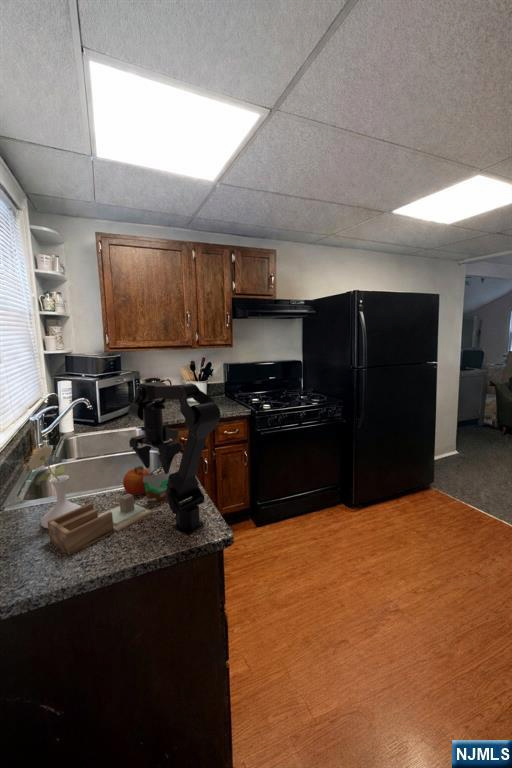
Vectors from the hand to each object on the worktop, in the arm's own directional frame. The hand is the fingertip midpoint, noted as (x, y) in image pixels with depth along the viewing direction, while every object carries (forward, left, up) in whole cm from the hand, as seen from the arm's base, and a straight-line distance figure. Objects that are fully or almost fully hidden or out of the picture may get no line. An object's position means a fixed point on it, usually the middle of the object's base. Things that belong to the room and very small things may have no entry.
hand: (157, 470), depth 100 cm
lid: (+7, +8, -13) cm, 17 cm away
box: (+7, +21, -13) cm, 26 cm away
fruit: (+17, -4, -13) cm, 22 cm away
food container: (+6, -6, -13) cm, 16 cm away
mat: (+7, +9, -13) cm, 17 cm away
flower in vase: (+19, +21, -13) cm, 31 cm away
